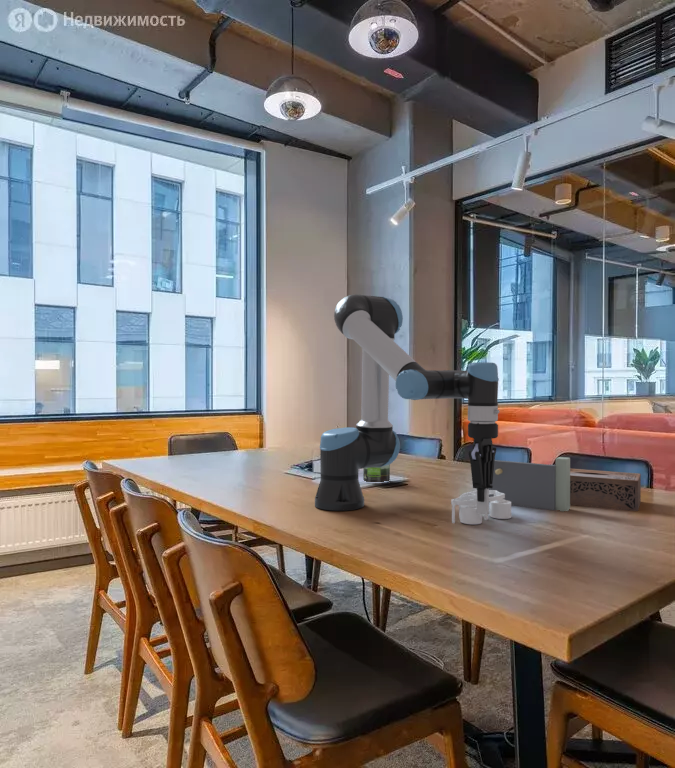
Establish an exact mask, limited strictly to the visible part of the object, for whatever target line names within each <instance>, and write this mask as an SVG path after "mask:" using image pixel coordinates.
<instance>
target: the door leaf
mask: <svg viewBox="0 0 675 768" xmlns="http://www.w3.org/2000/svg"><path fill="white" fill-rule="evenodd" d="M570 469H571V457H565V456H559V457H557V458H555V464H549V463H548V464H546V463H536V462H523V461H511V460H499V459H495V461H494V472H493V483H492V484H490V485H492V486H493V488H488V489H489V490H497V491H498V492H500V493H504V494H505V498H503V499H505V500H508V501H511V506H518V507H524V508H532V509H540V510H549V511H557V510H560V511H559V512H564V511H567V512H568V511H570V510H571V504H570ZM489 497H494V494H489ZM569 509H570V510H569Z"/></svg>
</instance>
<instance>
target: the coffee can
mask: <svg viewBox="0 0 675 768" xmlns="http://www.w3.org/2000/svg"><path fill="white" fill-rule="evenodd" d="M362 470H363V471H362V473H363V475H362V479H363V480H364V481H366V482H384V481H389V480H390V481H391V478H390V477H391V464H389V465H385V466H382V467H371V468H363V469H362ZM363 480H362V481H363Z"/></svg>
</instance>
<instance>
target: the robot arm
mask: <svg viewBox="0 0 675 768" xmlns="http://www.w3.org/2000/svg"><path fill="white" fill-rule="evenodd" d="M333 317H334V319H333V320H334V323H335V326H336V327H337V329H338V331H339V332H340V333H341V334H343V336H344V337H345V338H346V339H349V340H353V341H354V342H355V343H356V344H357V345H358V346H359V347H360V348H361V351H362V359H361V409H360V416H361V419H360V420H359V422H357V423H356V425H355V427H351V426H349V427H339V428H338V427H337V428H332V429H329V430H326V431H324V432H322V434H321V436H320V445H319V452H320V453H319V455H320V461H319V462H320V465H319V467H320V481H319V484H318V487H317V489H316V494H315V497H314V506H315V508H316V509H320V510H325V511H332V512H333V511H337V512H339V511H342V512H343V511H353V510H355V511H356V510H359V509H362V508H364V506H365V497H364V495H363V491H362V487H361V484H360V481H359V470H360V469H361V470H363V468H371V467H382V466H385V465H389V464H390V465H391V464H393V462H394V461H396V459H397V458H398V457H399V453H400V451H401V450H400V449H401V443H400V437H398V434H397V432H396V431H394V430H393V428H394V427H393V424H392V423H391V422H390V421H389V393H390V391H389V388H390V387H389V386H390V385H389V384H390V377H391V378H392V379H393V380H394V381H395V389H396V391H397V394H398V395H399V397H401V398H402V399H404V400H412V401H418V400H431V399H432V400H438V399H444V400H445V399H466V400H467V421H468V422H469V423H468V424H467V437H469V438H472V439H473V444H472V450H468V458H469V460H470V462H469V463H470V472H471V481H472V488H473V489H476V491H477V514H482V515H490V502H489V489H488V488H493V486H492V485H490V484H492V483H493V472H494V461H495V460H496V459H495V458H496V453H497V447H496V446H493V439H497V438H498V437H499V425H498V423H496V422H497V421H498V420H499V416H498V415H499V414H500V409H498V408H499V403H498V399H499V398H498V397H499V395H498V393H499V381H500V380H499V379H500V378H499V372H498V371H499V370H498V368H499V367H498V365H497V364H496V363H495V362H484V361H483V362H480V361H479V362H470V363H469V364H468V366H467V369H465V370H449V369H448V370H446V369H444V370H434V369H433V370H432V369H431V370H430V369H425V367H423V366H422V365H420V364H419V363H418V362H417V361H416V360H415V359H413V358H412V356H410V354H408V353H407V352H406V351H405V350H404V349H402V347H401V346H399V345H398V344H397V343H396V342H395V335H396V334H397V333H398V332H400V330H401V328H402V326H403V319H404V318H403V312H402V309H401V307H400V305H399V304H398V302H397V301H396V300H394V299H392V298H388V297H384V296H377V295H374V296H373V295H364V294H357V293H353V294H349V295H347V296H344V297H343V298H341V300H339V302H338V303H337V304H336V306H335V309H334V312H333Z"/></svg>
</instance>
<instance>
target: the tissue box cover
mask: <svg viewBox="0 0 675 768" xmlns="http://www.w3.org/2000/svg"><path fill="white" fill-rule="evenodd" d="M641 475H642V474H641V473H635V472H624V471H623V472H622V471H608V470H597V469H596V470H595V469H582V468H570V505H571V506H572V505H573V506H585V507H591V508H592V507H593V508H605V509H612V510H613V509H615V510H624V511H634V512H638V511H639V509H640V505H641V503H642V502H641V497H642V496H641V495H642V494H641V493H642V492H641V491H642V490H641V489H642V488H641V487H642V486H641V484H642V483H641V478H642V477H641Z"/></svg>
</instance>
